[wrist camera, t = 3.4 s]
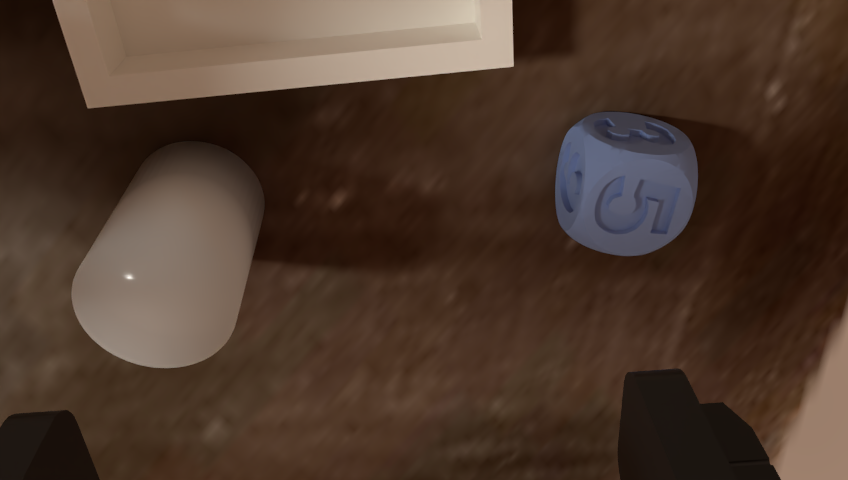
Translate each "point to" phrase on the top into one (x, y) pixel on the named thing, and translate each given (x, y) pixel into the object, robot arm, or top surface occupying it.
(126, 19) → the tray
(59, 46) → the top surface
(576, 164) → the decorative dice
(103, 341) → the grey rounded cylinder
